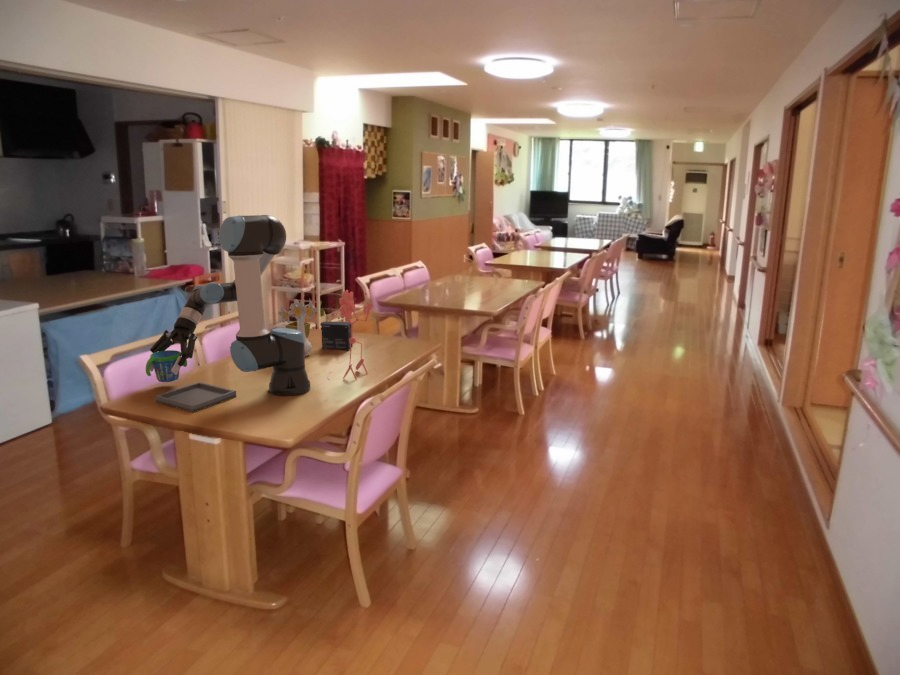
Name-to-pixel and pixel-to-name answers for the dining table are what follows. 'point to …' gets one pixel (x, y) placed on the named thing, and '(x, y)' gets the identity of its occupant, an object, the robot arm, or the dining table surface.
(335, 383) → the dining table surface
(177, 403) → the cup tray
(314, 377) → the dining table surface
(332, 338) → the small box
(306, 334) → the flower pot
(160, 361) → the snack cup
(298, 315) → the flower vase
